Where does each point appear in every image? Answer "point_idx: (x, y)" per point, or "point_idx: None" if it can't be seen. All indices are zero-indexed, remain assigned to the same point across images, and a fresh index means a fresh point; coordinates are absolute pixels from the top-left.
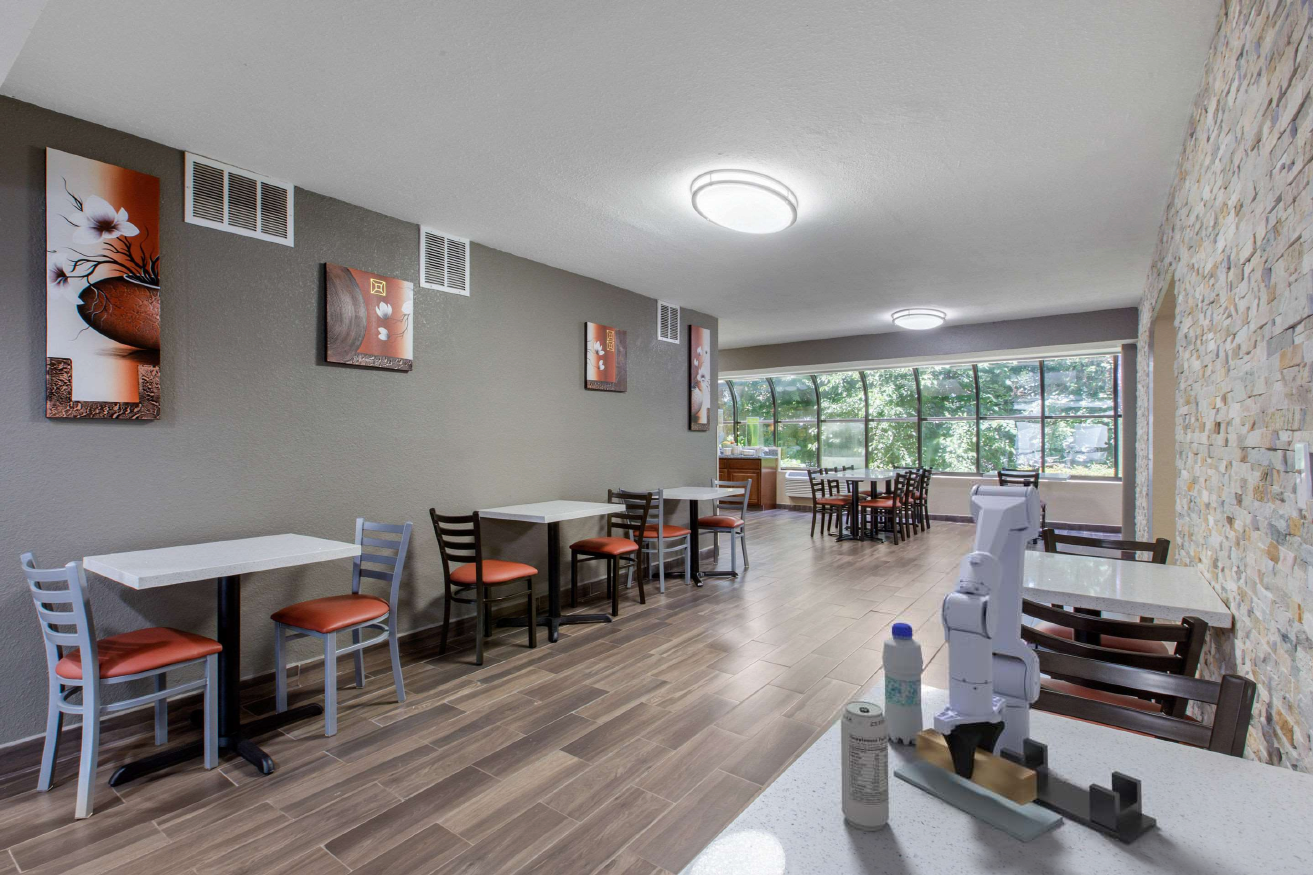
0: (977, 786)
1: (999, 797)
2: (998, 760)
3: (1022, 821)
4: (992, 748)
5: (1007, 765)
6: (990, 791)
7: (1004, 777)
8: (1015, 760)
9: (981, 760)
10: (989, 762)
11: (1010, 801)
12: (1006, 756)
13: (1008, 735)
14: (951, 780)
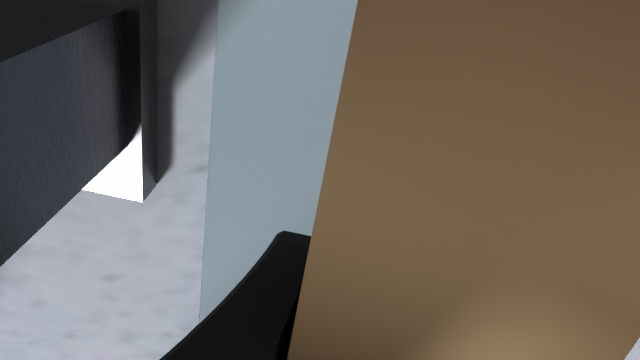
0: (307, 213)
1: (341, 80)
2: (434, 226)
3: None
4: (224, 358)
5: (537, 90)
6: (307, 144)
7: None
8: (2, 116)
9: (588, 357)
10: (591, 286)
11: (338, 8)
12: (11, 197)
13: None
14: None
